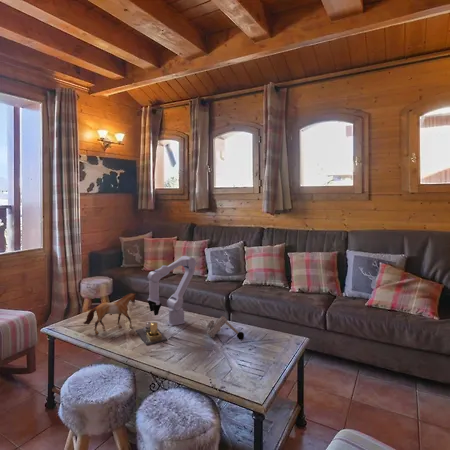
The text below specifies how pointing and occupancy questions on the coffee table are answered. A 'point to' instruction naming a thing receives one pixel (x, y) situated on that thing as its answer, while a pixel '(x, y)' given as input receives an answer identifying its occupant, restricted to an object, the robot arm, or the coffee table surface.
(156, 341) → the plate
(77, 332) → the coffee table surface
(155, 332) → the brass fitting
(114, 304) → the horse figurine
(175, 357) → the coffee table surface
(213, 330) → the valve
